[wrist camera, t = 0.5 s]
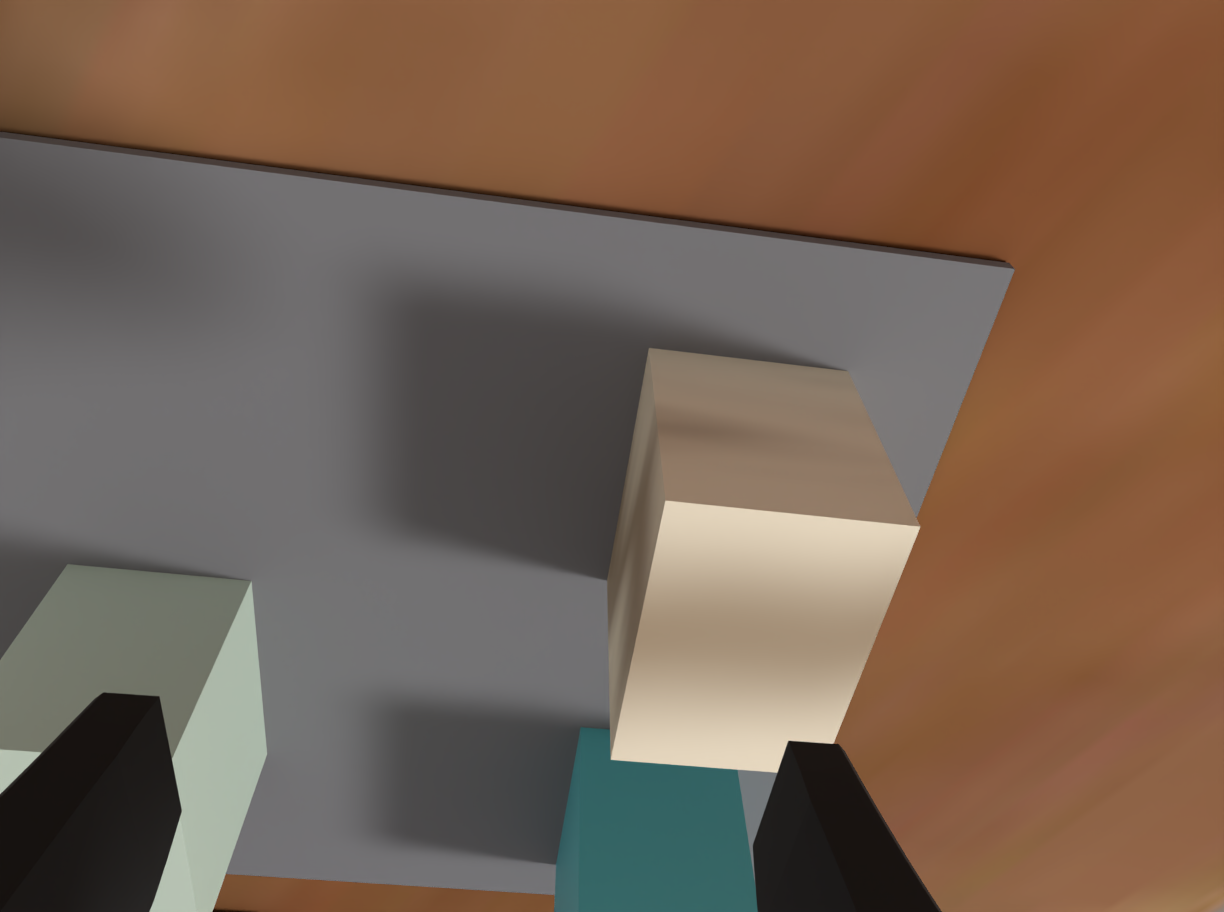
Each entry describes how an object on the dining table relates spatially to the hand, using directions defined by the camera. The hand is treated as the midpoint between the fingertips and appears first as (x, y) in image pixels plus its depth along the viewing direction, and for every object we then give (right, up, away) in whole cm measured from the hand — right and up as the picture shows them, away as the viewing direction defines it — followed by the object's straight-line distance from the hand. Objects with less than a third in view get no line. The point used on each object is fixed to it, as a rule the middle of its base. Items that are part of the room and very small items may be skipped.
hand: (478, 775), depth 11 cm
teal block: (+2, -6, +15) cm, 16 cm away
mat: (-6, 0, +11) cm, 13 cm away
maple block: (+4, +3, +9) cm, 10 cm away
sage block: (-9, -1, +12) cm, 15 cm away
